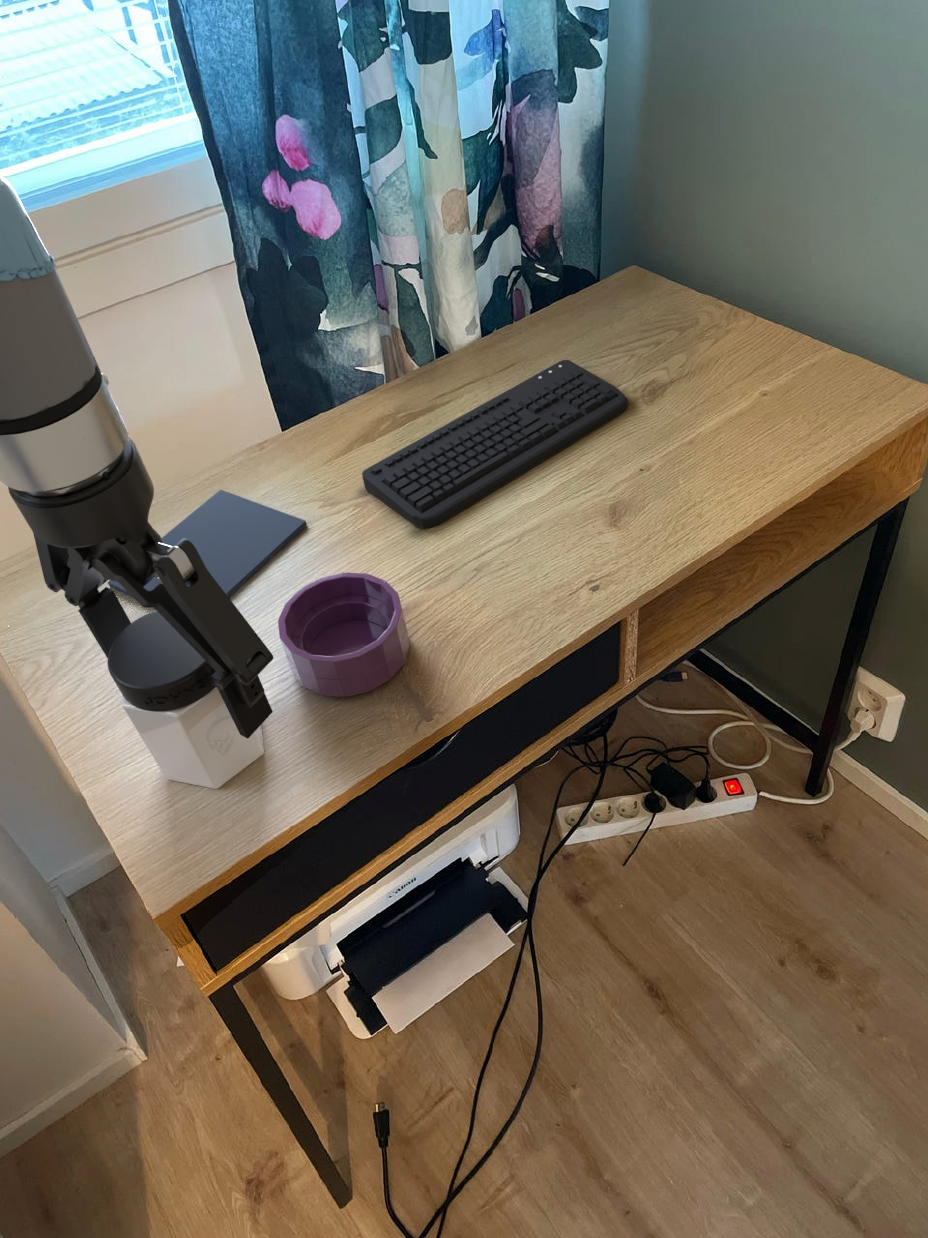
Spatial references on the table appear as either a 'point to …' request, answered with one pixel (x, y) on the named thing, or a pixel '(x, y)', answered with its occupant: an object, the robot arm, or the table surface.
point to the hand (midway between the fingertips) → (190, 689)
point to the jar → (178, 705)
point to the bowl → (344, 634)
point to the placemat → (231, 538)
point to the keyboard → (493, 444)
